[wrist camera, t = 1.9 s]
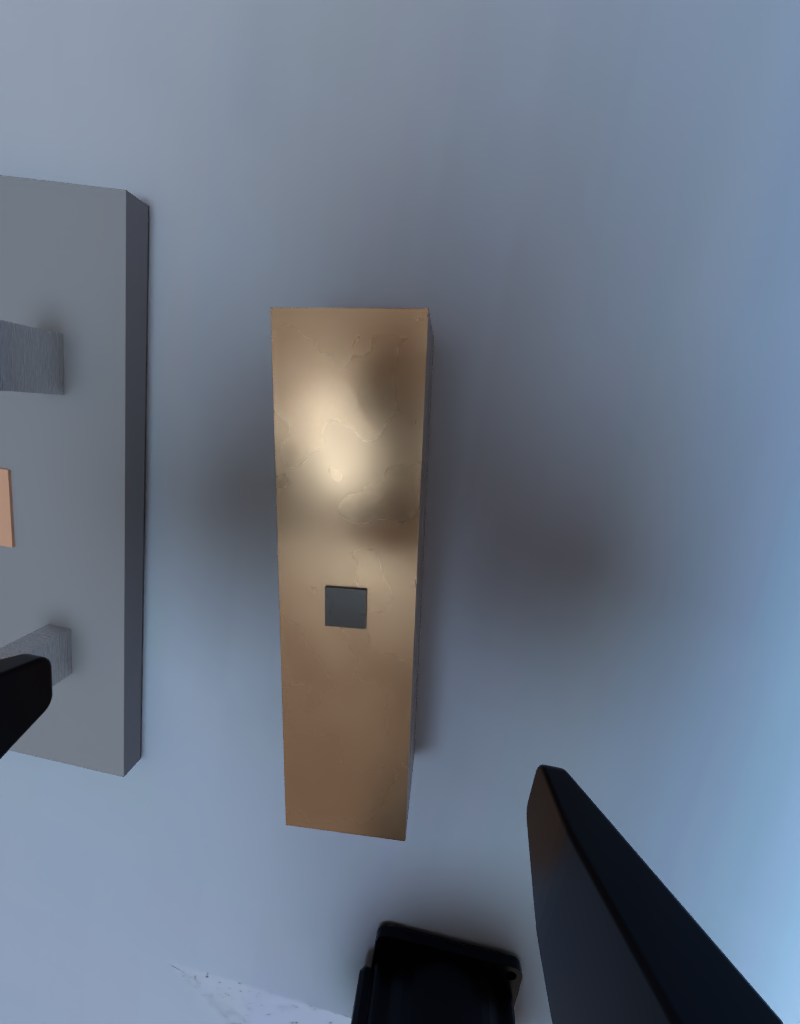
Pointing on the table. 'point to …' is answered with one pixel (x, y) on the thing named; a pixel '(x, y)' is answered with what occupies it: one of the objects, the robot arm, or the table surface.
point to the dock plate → (78, 460)
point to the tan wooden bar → (350, 558)
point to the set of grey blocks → (40, 369)
